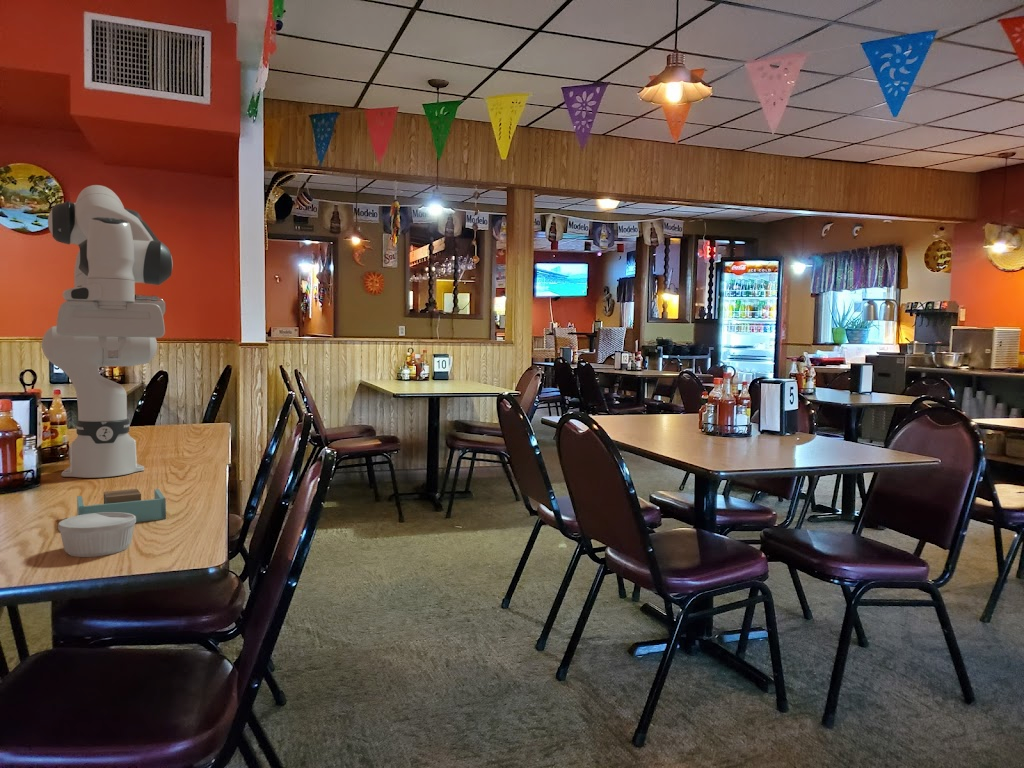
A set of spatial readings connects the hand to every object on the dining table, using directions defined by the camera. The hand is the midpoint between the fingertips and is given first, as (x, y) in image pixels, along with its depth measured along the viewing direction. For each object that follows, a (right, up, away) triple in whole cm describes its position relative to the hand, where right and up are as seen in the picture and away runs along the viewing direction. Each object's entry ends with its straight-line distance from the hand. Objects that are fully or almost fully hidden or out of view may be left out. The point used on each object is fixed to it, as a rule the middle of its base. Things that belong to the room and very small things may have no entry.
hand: (112, 358), depth 152 cm
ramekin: (+16, -34, -33) cm, 50 cm away
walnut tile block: (+8, -32, -11) cm, 35 cm away
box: (+8, -32, -11) cm, 35 cm away
